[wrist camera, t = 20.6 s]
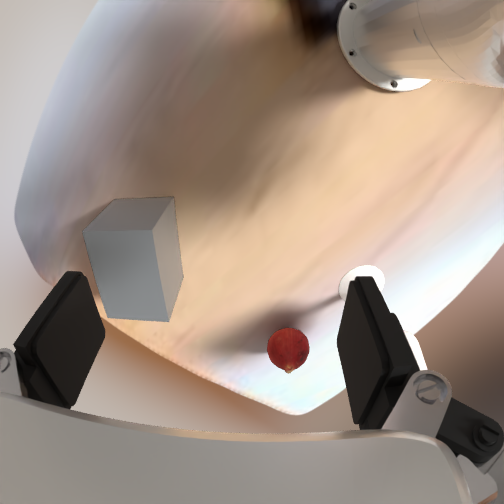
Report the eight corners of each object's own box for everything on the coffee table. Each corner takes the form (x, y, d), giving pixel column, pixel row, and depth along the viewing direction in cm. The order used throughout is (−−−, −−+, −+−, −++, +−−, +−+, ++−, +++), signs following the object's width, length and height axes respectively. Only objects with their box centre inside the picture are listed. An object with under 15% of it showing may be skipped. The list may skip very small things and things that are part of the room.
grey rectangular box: (114, 199, 36) (82, 231, 29) (173, 196, 36) (152, 230, 29) (130, 275, 42) (107, 317, 34) (183, 277, 42) (169, 321, 34)
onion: (302, 312, 45) (309, 354, 38) (308, 339, 47) (315, 380, 40) (262, 320, 45) (263, 362, 38) (271, 346, 48) (273, 387, 41)
